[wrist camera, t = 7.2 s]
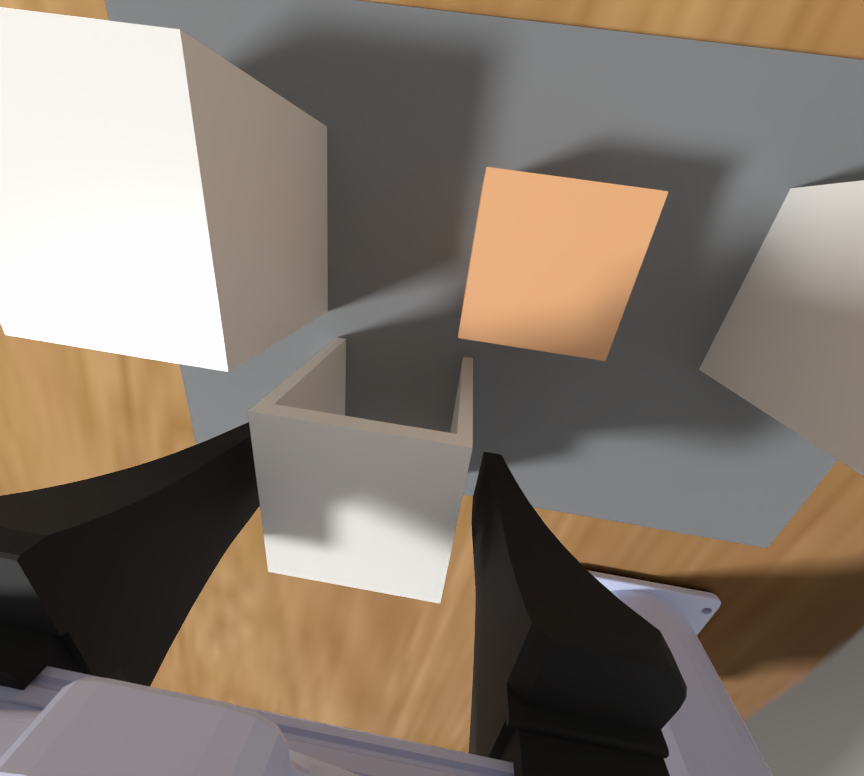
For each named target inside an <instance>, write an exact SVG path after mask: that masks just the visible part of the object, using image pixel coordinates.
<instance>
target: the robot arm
mask: <svg viewBox="0 0 864 776" xmlns="http://www.w3.org/2000/svg"><path fill="white" fill-rule="evenodd" d="M259 506H260V503H259V495H258V487H257V479H256V472H255V464H254V456H253V448H252V441H251V433H250V425H249V422H248V423H245V424H243V425H241V426H239V427H236V428H234V429H232V430H230V431H227V432H225V433H223V434H220V435H218V436H216V437H214V438H211V439H209V440H207V441H204V442H202V443H199V444H197V445H194V446H192V447H189V448H187V449H184V450H182V451H179V452H177V453H174V454H171V455H168V456H166V457H163V458H160V459H157V460H154V461H151V462H148V463H144V464H141V465H138V466H135V467H132V468H128V469H124V470H120V471H117V472H113V473H109V474H106V475H102V476H98V477H94V478H90V479H86V480H82V481H77V482H73V483H68V484H64V485H59V486H54V487H49V488H44V489H39V490H33V491H28V492H22V493H16V494H9V495H3V496H0V776H772V774H771V772H770V770H769V768H768V766H767V765H766V763H765V761H764V759H763V757H762V755H761V753H760V752H759V750H758V748H757V746H756V744H755V742H754V741H753V739H752V737H751V735H750V733H749V731H748V730H747V728H746V726H745V724H744V722H743V720H742V718H741V716H740V715H739V713H738V711H737V709H736V707H735V705H734V704H733V702H732V700H731V698H730V696H729V694H728V692H727V691H726V689H725V687H724V685H723V683H722V681H721V680H720V678H719V676H718V674H717V672H716V670H715V668H714V667H713V665H712V663H711V661H710V659H709V657H708V656H707V654H706V652H705V650H704V648H703V646H702V644H701V643H700V641H699V639H698V637H697V635H698V634H699V632H700V631H701V630H702V629H703V627H704V626H705V625H706V623H707V622H708V621H709V620H710V618H711V617H712V616H713V615H714V613H715V612H716V611H717V610H718V608H719V607H720V605H721V601H720V600H719V598H718V597H717V596H716V595H715V594H713V593H710V592H704V591H699V590H693V589H688V588H682V587H677V586H671V585H666V584H660V583H655V582H649V581H644V580H638V579H633V578H627V577H622V576H616V575H611V574H605V573H600V572H594V571H589V570H586V569H585V568H584V567H583V566H582V565H581V564H580V563H579V562H578V560H577V559H576V558H575V557H574V556H573V555H572V554H571V553H570V552H569V551H568V550H567V549H566V548H565V547H564V546H563V545H562V544H561V543H560V541H559V540H558V539H557V538H556V537H555V535H554V534H553V533H552V532H551V531H550V530H549V528H548V527H547V526H546V525H545V523H544V522H543V521H542V519H541V518H540V517H539V515H538V514H537V512H536V511H535V510H534V508H533V507H532V505H531V504H530V502H529V501H528V499H527V498H526V496H525V495H524V493H523V491H522V490H521V488H520V487H519V485H518V483H517V482H516V480H515V478H514V476H513V475H512V473H511V471H510V469H509V467H508V466H507V464H506V462H505V460H504V458H503V456H502V455H501V454H495V453H489V452H483V456H482V461H481V465H480V469H479V473H478V478H477V482H476V486H475V490H474V494H473V506H472V538H473V554H474V569H475V585H476V612H475V642H474V668H473V688H472V708H471V725H470V742H469V753H465V752H460V751H455V750H450V749H445V748H440V747H436V746H431V745H426V744H421V743H416V742H411V741H407V740H402V739H397V738H392V737H387V736H382V735H378V734H373V733H368V732H363V731H358V730H353V729H349V728H344V727H339V726H334V725H329V724H325V723H320V722H315V721H310V720H305V719H300V718H296V717H291V716H286V715H281V714H276V713H271V712H267V711H262V710H257V709H252V708H247V707H242V706H238V705H234V704H231V703H226V702H221V701H217V700H212V699H207V698H202V697H197V696H192V695H188V694H183V693H178V692H173V691H168V690H163V689H159V688H154V687H150V685H151V683H152V681H153V679H154V677H155V675H156V673H157V672H158V670H159V668H160V666H161V664H162V662H163V660H164V658H165V656H166V654H167V652H168V650H169V648H170V646H171V644H172V642H173V641H174V639H175V637H176V635H177V633H178V631H179V630H180V628H181V626H182V624H183V622H184V620H185V619H186V617H187V615H188V613H189V611H190V610H191V608H192V606H193V604H194V603H195V601H196V599H197V598H198V596H199V594H200V592H201V591H202V589H203V587H204V586H205V584H206V582H207V580H208V579H209V577H210V576H211V574H212V572H213V571H214V569H215V567H216V566H217V564H218V563H219V561H220V559H221V558H222V556H223V554H224V553H225V551H226V550H227V549H228V547H229V546H230V544H231V543H232V541H233V540H234V539H235V537H236V536H237V535H238V533H239V532H240V531H241V530H242V528H243V527H244V526H245V524H246V523H247V522H248V520H249V519H250V518H251V516H252V515H253V514H254V513H255V511H256V510H257V509H258V507H259Z"/></svg>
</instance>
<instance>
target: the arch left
mask: <svg viewBox="0 0 864 776" xmlns="http://www.w3.org/2000/svg"><path fill="white" fill-rule="evenodd" d="M326 312H328V242H327V126H325V125H324V124H322V123H321V122H319V121H318V120H316V119H315V118H313V117H312V116H310V115H309V114H307V113H306V112H304V111H303V110H301V109H300V108H298V107H297V106H295V105H294V104H292V103H291V102H289V101H288V100H286V99H285V98H283V97H282V96H280V95H278V94H277V93H275V92H274V91H272V90H271V89H269V88H268V87H266V86H265V85H263V84H262V83H260V82H259V81H257V80H256V79H254V78H253V77H251V76H250V75H248V74H247V73H245V72H244V71H242V70H241V69H239V68H238V67H236V66H235V65H233V64H232V63H230V62H228V61H227V60H225V59H224V58H222V57H221V56H219V55H218V54H216V53H215V52H213V51H212V50H210V49H209V48H207V47H206V46H204V45H203V44H201V43H200V42H198V41H197V40H195V39H194V38H192V37H191V36H189V35H188V34H186V33H185V32H183V31H182V30H180V29H173V28H165V27H156V26H148V25H140V24H132V23H124V22H116V21H108V20H100V19H92V18H84V17H76V16H67V15H59V14H51V13H43V12H35V11H27V10H19V9H11V8H3V7H0V324H1V326H2V328H3V331H4V333H5V335H8V336H14V337H20V338H26V339H33V340H39V341H45V342H51V343H57V344H63V345H69V346H75V347H81V348H87V349H93V350H99V351H105V352H111V353H117V354H123V355H129V356H135V357H141V358H147V359H153V360H159V361H165V362H171V363H177V364H183V365H190V366H196V367H202V368H208V369H214V370H220V371H226V372H229V371H231V370H232V369H234V368H236V367H237V366H239V365H241V364H242V363H244V362H245V361H247V360H249V359H250V358H252V357H254V356H255V355H257V354H259V353H260V352H262V351H264V350H265V349H267V348H269V347H270V346H272V345H274V344H275V343H277V342H279V341H280V340H282V339H283V338H285V337H287V336H288V335H290V334H292V333H293V332H295V331H297V330H298V329H300V328H302V327H303V326H305V325H307V324H308V323H310V322H312V321H313V320H315V319H317V318H318V317H320V316H321V315H323V314H325V313H326Z"/></svg>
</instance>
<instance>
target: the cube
mask: <svg viewBox="0 0 864 776" xmlns="http://www.w3.org/2000/svg"><path fill="white" fill-rule="evenodd" d="M668 192H669V191H662V190H655V189H647V188H640V187H633V186H625V185H618V184H611V183H603V182H596V181H588V180H581V179H574V178H566V177H559V176H552V175H544V174H537V173H529V172H522V171H515V170H507V169H500V168H493V167H486V171H485V176H484V180H483V184H482V190H481V196H480V202H479V208H478V215H477V221H476V227H475V233H474V239H473V245H472V251H471V257H470V263H469V269H468V275H467V281H466V287H465V293H464V299H463V305H462V312H461V319H460V326H459V334H458V338H461V339H468V340H474V341H481V342H487V343H493V344H500V345H506V346H512V347H519V348H525V349H532V350H538V351H544V352H551V353H557V354H563V355H570V356H576V357H583V358H589V359H595V360H602V361H606V358H607V356H608V353H609V350H610V348H611V345H612V342H613V340H614V337H615V334H616V332H617V329H618V326H619V323H620V321H621V318H622V315H623V313H624V310H625V307H626V305H627V302H628V299H629V297H630V294H631V291H632V289H633V286H634V283H635V281H636V278H637V275H638V273H639V270H640V267H641V265H642V262H643V259H644V256H645V254H646V251H647V248H648V246H649V243H650V240H651V238H652V235H653V232H654V230H655V227H656V224H657V222H658V219H659V216H660V214H661V211H662V208H663V206H664V203H665V200H666V198H667V195H668Z"/></svg>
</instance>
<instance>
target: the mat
mask: <svg viewBox="0 0 864 776" xmlns="http://www.w3.org/2000/svg"><path fill="white" fill-rule="evenodd" d="M105 4H106V9H107V14H108V19H109V21H116V22H124V23H132V24H140V25H148V26H156V27H165V28H173V29H180V30H182V31H183V32H185V33H186V34H188V35H189V36H191V37H192V38H194V39H195V40H197V41H198V42H200V43H201V44H203V45H204V46H206V47H207V48H209V49H210V50H212V51H213V52H215V53H216V54H218V55H219V56H221V57H222V58H224V59H225V60H227V61H228V62H230V63H232V64H233V65H235V66H236V67H238V68H239V69H241V70H242V71H244V72H245V73H247V74H248V75H250V76H251V77H253V78H254V79H256V80H257V81H259V82H260V83H262V84H263V85H265V86H266V87H268V88H269V89H271V90H272V91H274V92H275V93H277V94H278V95H280V96H282V97H283V98H285V99H286V100H288V101H289V102H291V103H292V104H294V105H295V106H297V107H298V108H300V109H301V110H303V111H304V112H306V113H307V114H309V115H310V116H312V117H313V118H315V119H316V120H318V121H319V122H321V123H322V124H324V125H325V126H327V242H328V312H326V313H325V314H323V315H321V316H320V317H318V318H317V319H315V320H313V321H312V322H310V323H308V324H307V325H305V326H303V327H302V328H300V329H298V330H297V331H295V332H293V333H292V334H290V335H288V336H287V337H285V338H283V339H282V340H280V341H279V342H277V343H275V344H274V345H272V346H270V347H269V348H267V349H265V350H264V351H262V352H260V353H259V354H257V355H255V356H254V357H252V358H250V359H249V360H247V361H245V362H244V363H242V364H241V365H239V366H237V367H236V368H234V369H232V370H231V371H229V372H226V371H220V370H214V369H208V368H202V367H196V366H190V365H183V364H180V368H181V373H182V378H183V383H184V387H185V392H186V397H187V402H188V407H189V412H190V417H191V421H192V426H193V431H194V436H195V441H196V445H197V444H199V443H202V442H204V441H207V440H209V439H211V438H214V437H216V436H218V435H220V434H223V433H225V432H227V431H230V430H232V429H234V428H236V427H239V426H241V425H243V424H245V423H248V422H249V417H248V410H250V409H251V408H252V407H253V406H254V405H256V404H257V403H258V402H259V401H260V400H262V399H263V398H264V397H265V396H266V395H268V394H269V393H270V392H271V391H272V390H274V389H275V388H276V387H277V386H278V385H280V384H281V383H282V382H283V381H285V380H286V379H287V378H288V377H289V376H291V375H292V374H293V373H294V372H295V371H297V370H298V369H299V368H300V367H301V366H303V365H304V364H305V363H306V362H307V361H309V360H310V359H311V358H312V357H313V356H315V355H316V354H317V353H318V352H319V351H321V350H322V349H323V348H324V347H325V346H327V345H328V344H329V343H330V342H331V341H333V340H334V339H335V338H336V337H338V338H345V339H346V390H345V416H350V417H356V418H362V419H368V420H374V421H381V422H387V423H393V424H399V425H405V426H411V427H417V428H424V429H430V430H436V431H442V432H448V433H450V430H451V425H452V419H453V413H454V407H455V401H456V395H457V389H458V384H459V378H460V372H461V366H462V360H463V357H470V358H473V449H472V453H471V458H470V463H469V468H468V473H467V477H466V482H465V487H464V492H463V495H468V496H473V494H474V490H475V486H476V482H477V478H478V473H479V469H480V465H481V461H482V456H483V452H489V453H495V454H501V455H502V456H503V458H504V460H505V462H506V464H507V466H508V467H509V469H510V471H511V473H512V475H513V476H514V478H515V480H516V482H517V483H518V485H519V487H520V488H521V490H522V491H523V493H524V495H525V496H526V498H527V499H528V501H529V502H530V504H531V505H532V507H536V508H542V509H548V510H553V511H559V512H565V513H571V514H576V515H582V516H588V517H593V518H599V519H605V520H610V521H616V522H622V523H627V524H633V525H639V526H644V527H650V528H656V529H662V530H667V531H673V532H679V533H684V534H690V535H696V536H701V537H707V538H713V539H718V540H724V541H730V542H735V543H741V544H747V545H753V546H758V547H764V548H768V547H769V546H770V544H771V543H772V542H773V541H774V539H775V538H776V537H777V536H778V534H779V533H780V532H781V531H782V529H783V528H784V527H785V526H786V524H787V523H788V522H789V520H790V519H791V518H792V517H793V515H794V514H795V513H796V512H797V510H798V509H799V508H800V507H801V505H802V504H803V503H804V502H805V500H806V499H807V498H808V497H809V495H810V494H811V493H812V492H813V490H814V489H815V488H816V487H817V485H818V484H819V483H820V481H821V480H822V479H823V478H824V476H825V475H826V474H827V473H828V471H829V470H830V469H831V468H832V466H833V465H834V464H835V463H836V461H837V459H836V458H834V457H833V456H831V455H830V454H828V453H826V452H825V451H823V450H822V449H820V448H819V447H817V446H816V445H814V444H813V443H811V442H810V441H808V440H806V439H805V438H803V437H802V436H800V435H799V434H797V433H796V432H794V431H793V430H791V429H790V428H788V427H786V426H785V425H783V424H782V423H780V422H779V421H777V420H776V419H774V418H773V417H771V416H770V415H768V414H766V413H765V412H763V411H762V410H760V409H759V408H757V407H756V406H754V405H753V404H751V403H749V402H748V401H746V400H745V399H743V398H742V397H740V396H739V395H737V394H736V393H734V392H733V391H731V390H729V389H728V388H726V387H725V386H723V385H722V384H720V383H719V382H717V381H716V380H714V379H713V378H711V377H709V376H708V375H706V374H705V373H703V372H702V371H700V370H699V368H700V366H701V364H702V362H703V361H704V359H705V357H706V355H707V353H708V351H709V349H710V347H711V345H712V343H713V341H714V339H715V337H716V335H717V333H718V331H719V329H720V327H721V325H722V323H723V321H724V319H725V317H726V315H727V313H728V311H729V309H730V307H731V305H732V303H733V301H734V299H735V297H736V295H737V293H738V291H739V289H740V287H741V285H742V283H743V281H744V279H745V277H746V275H747V274H748V272H749V270H750V268H751V266H752V264H753V262H754V260H755V258H756V256H757V254H758V252H759V250H760V248H761V246H762V244H763V242H764V240H765V238H766V236H767V234H768V232H769V230H770V228H771V226H772V224H773V222H774V220H775V218H776V216H777V214H778V212H779V210H780V208H781V206H782V204H783V202H784V200H785V198H786V196H787V194H788V192H789V190H790V189H791V188H798V187H807V186H816V185H826V184H835V183H844V182H853V181H862V180H864V60H860V59H851V58H843V57H834V56H826V55H817V54H809V53H800V52H792V51H783V50H775V49H766V48H758V47H749V46H741V45H732V44H724V43H715V42H707V41H698V40H690V39H681V38H672V37H664V36H655V35H647V34H638V33H630V32H621V31H613V30H604V29H596V28H587V27H579V26H570V25H562V24H553V23H545V22H536V21H528V20H519V19H511V18H502V17H493V16H485V15H476V14H468V13H459V12H451V11H442V10H434V9H425V8H417V7H408V6H400V5H391V4H383V3H374V2H366V1H357V0H105ZM486 167H493V168H500V169H507V170H515V171H522V172H529V173H537V174H544V175H552V176H559V177H566V178H574V179H581V180H588V181H596V182H603V183H611V184H618V185H625V186H633V187H640V188H647V189H655V190H662V191H669V192H668V195H667V198H666V200H665V203H664V206H663V208H662V211H661V214H660V216H659V219H658V222H657V224H656V227H655V230H654V232H653V235H652V238H651V240H650V243H649V246H648V248H647V251H646V254H645V256H644V259H643V262H642V265H641V267H640V270H639V273H638V275H637V278H636V281H635V283H634V286H633V289H632V291H631V294H630V297H629V299H628V302H627V305H626V307H625V310H624V313H623V315H622V318H621V321H620V323H619V326H618V329H617V332H616V334H615V337H614V340H613V342H612V345H611V348H610V350H609V353H608V356H607V358H606V361H602V360H595V359H589V358H583V357H576V356H570V355H563V354H557V353H551V352H544V351H538V350H532V349H525V348H519V347H512V346H506V345H500V344H493V343H487V342H481V341H474V340H468V339H461V338H458V334H459V326H460V319H461V312H462V305H463V299H464V293H465V287H466V281H467V275H468V269H469V263H470V257H471V251H472V245H473V239H474V233H475V227H476V221H477V215H478V208H479V202H480V196H481V190H482V184H483V180H484V176H485V171H486Z"/></svg>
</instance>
